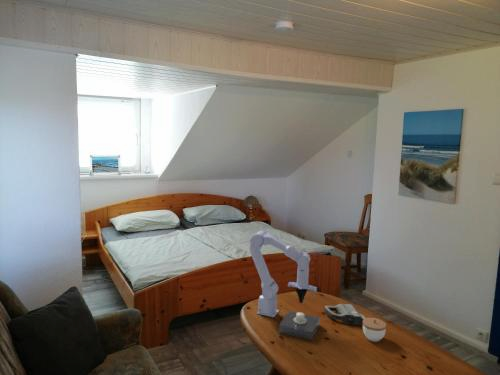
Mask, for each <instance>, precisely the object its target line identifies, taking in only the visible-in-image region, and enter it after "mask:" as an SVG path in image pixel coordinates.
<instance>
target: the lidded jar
mask: <svg viewBox="0 0 500 375" xmlns="http://www.w3.org/2000/svg"><path fill="white" fill-rule="evenodd" d="M386 331H387V323H386V322H385V321H383V320H382V319H379V318H376V317H366V318H365V319H364V320H363V323H362V332H363V334H364V336H365V338H366V339H367V340H368V341H370V342H373V343H374V342H375V343H376V342H380V341H381V340H383V338H384V337H385V335H386Z"/></svg>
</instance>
